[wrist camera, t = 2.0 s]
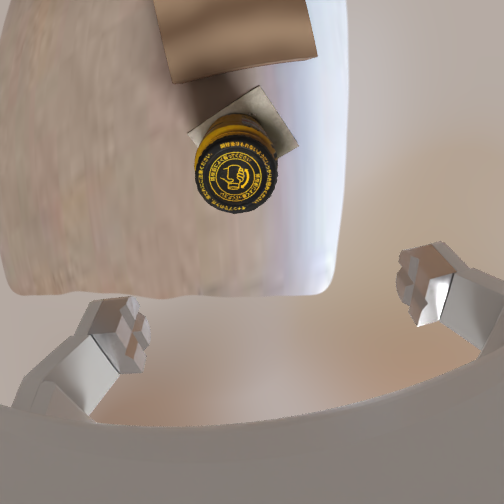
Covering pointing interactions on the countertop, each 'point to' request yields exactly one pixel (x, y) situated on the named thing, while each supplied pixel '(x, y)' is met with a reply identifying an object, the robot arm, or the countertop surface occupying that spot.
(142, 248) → the countertop surface
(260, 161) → the condiment
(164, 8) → the walnut block
